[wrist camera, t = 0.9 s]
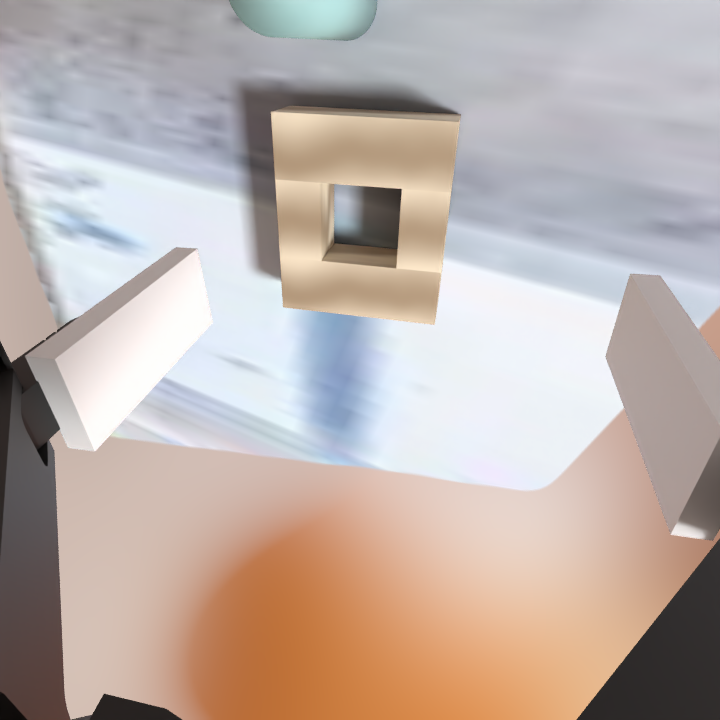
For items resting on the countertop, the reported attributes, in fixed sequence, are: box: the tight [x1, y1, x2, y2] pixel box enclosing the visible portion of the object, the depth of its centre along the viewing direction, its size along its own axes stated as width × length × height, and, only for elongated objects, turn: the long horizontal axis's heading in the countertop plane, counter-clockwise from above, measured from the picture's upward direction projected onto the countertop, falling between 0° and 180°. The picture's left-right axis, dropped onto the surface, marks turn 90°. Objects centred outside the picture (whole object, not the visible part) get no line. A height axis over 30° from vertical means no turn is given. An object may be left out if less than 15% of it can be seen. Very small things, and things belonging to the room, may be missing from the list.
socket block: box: [271, 106, 461, 325], centre depth 37 cm, size 14×12×4 cm
